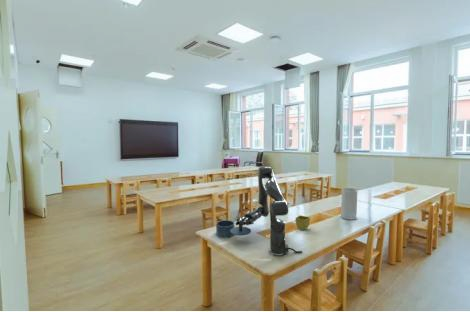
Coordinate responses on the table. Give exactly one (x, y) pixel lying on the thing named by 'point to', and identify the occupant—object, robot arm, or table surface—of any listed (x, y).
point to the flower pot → (302, 222)
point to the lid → (240, 230)
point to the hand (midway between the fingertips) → (238, 224)
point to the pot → (224, 228)
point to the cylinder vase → (349, 203)
